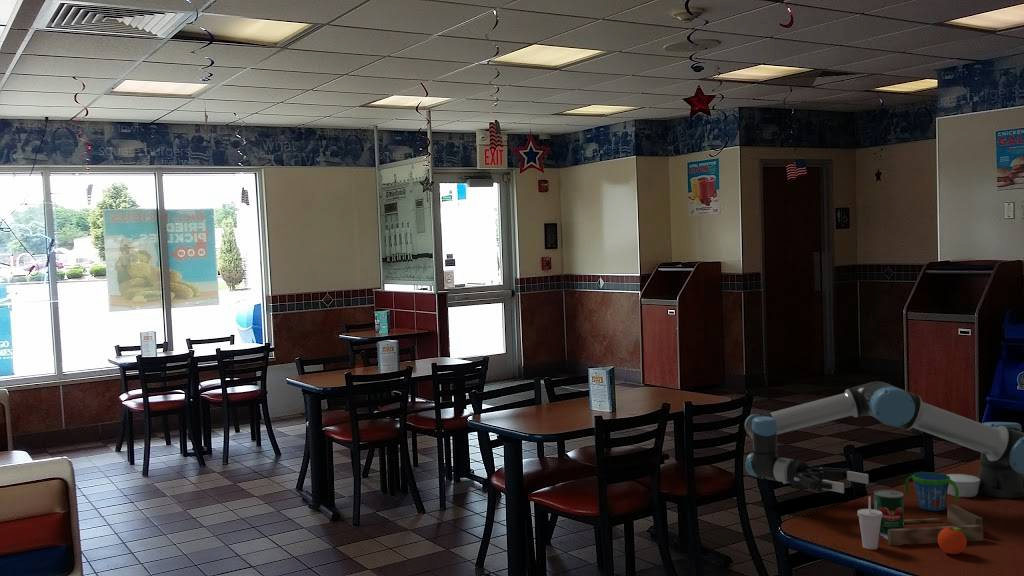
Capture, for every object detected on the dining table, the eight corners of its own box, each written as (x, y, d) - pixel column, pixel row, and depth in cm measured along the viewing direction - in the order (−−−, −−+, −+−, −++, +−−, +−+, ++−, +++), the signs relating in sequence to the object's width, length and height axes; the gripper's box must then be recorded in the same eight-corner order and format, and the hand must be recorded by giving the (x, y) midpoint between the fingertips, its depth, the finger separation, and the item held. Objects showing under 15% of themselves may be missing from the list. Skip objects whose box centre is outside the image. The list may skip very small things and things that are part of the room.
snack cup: (898, 506, 279) (898, 474, 279) (914, 500, 286) (914, 468, 286) (948, 517, 267) (948, 483, 267) (964, 510, 274) (964, 477, 274)
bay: (951, 520, 265) (951, 503, 265) (990, 540, 246) (990, 522, 246) (858, 524, 263) (858, 507, 262) (890, 545, 244) (890, 527, 244)
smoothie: (856, 549, 242) (855, 498, 241) (859, 542, 247) (858, 492, 247) (881, 552, 239) (881, 500, 238) (884, 545, 244) (883, 494, 244)
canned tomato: (886, 537, 250) (886, 498, 250) (868, 528, 258) (867, 490, 257) (910, 533, 252) (910, 495, 252) (891, 525, 260) (891, 488, 259)
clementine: (961, 548, 240) (961, 522, 240) (976, 557, 233) (976, 530, 233) (932, 549, 240) (932, 523, 240) (945, 558, 233) (945, 531, 233)
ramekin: (934, 492, 295) (934, 476, 295) (957, 487, 300) (957, 472, 299) (963, 500, 285) (963, 484, 284) (987, 495, 289) (987, 479, 289)
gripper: (814, 476, 286) (877, 487, 270) (768, 491, 270) (833, 505, 254) (814, 452, 286) (877, 463, 270) (768, 467, 270) (832, 479, 254)
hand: (856, 483), depth 262 cm, fingers open, 13 cm apart
